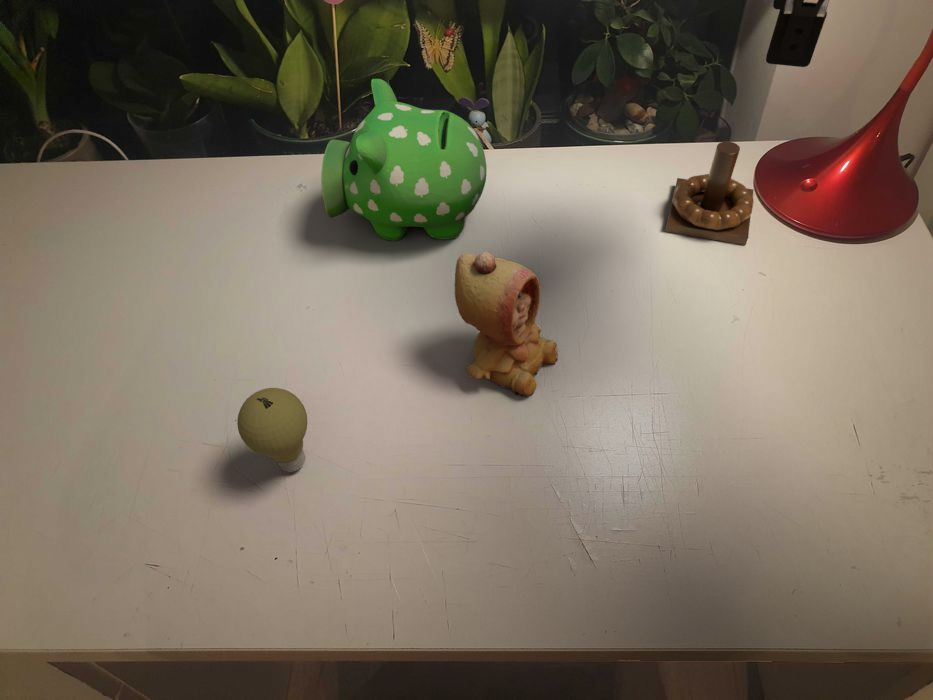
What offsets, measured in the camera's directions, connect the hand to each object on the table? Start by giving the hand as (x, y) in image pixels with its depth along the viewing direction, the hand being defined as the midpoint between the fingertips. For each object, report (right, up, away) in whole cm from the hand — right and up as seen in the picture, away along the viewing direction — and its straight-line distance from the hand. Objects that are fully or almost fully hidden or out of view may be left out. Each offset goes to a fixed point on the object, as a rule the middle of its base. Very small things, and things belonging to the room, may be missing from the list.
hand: (789, 34), depth 54 cm
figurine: (-23, -27, +12) cm, 37 cm away
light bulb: (-42, -37, +6) cm, 56 cm away
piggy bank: (-33, -10, +27) cm, 44 cm away
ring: (+2, -9, +22) cm, 24 cm away
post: (+2, -10, +24) cm, 26 cm away
